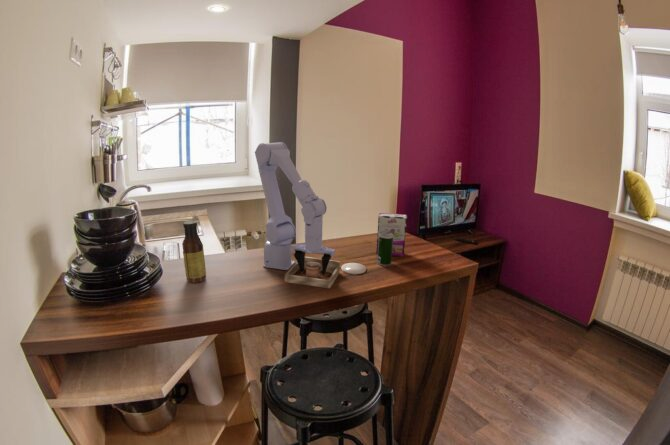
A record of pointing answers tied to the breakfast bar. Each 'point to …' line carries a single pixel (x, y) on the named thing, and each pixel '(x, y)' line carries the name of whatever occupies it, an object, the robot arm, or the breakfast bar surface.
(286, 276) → the frame
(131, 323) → the breakfast bar surface
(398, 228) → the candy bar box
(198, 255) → the sauce bottle
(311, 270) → the flower pot
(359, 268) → the coaster
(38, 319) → the breakfast bar surface
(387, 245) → the beer can
